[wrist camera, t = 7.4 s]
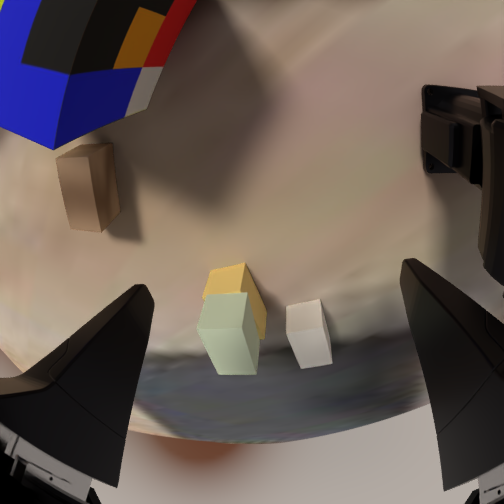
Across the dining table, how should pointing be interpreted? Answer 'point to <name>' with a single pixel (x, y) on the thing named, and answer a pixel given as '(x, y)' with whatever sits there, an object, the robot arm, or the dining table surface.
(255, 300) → the mustard brick
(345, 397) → the dining table surface
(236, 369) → the sage brick
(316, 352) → the grey brick
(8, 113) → the puzzle toy
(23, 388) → the robot arm
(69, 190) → the walnut brick
